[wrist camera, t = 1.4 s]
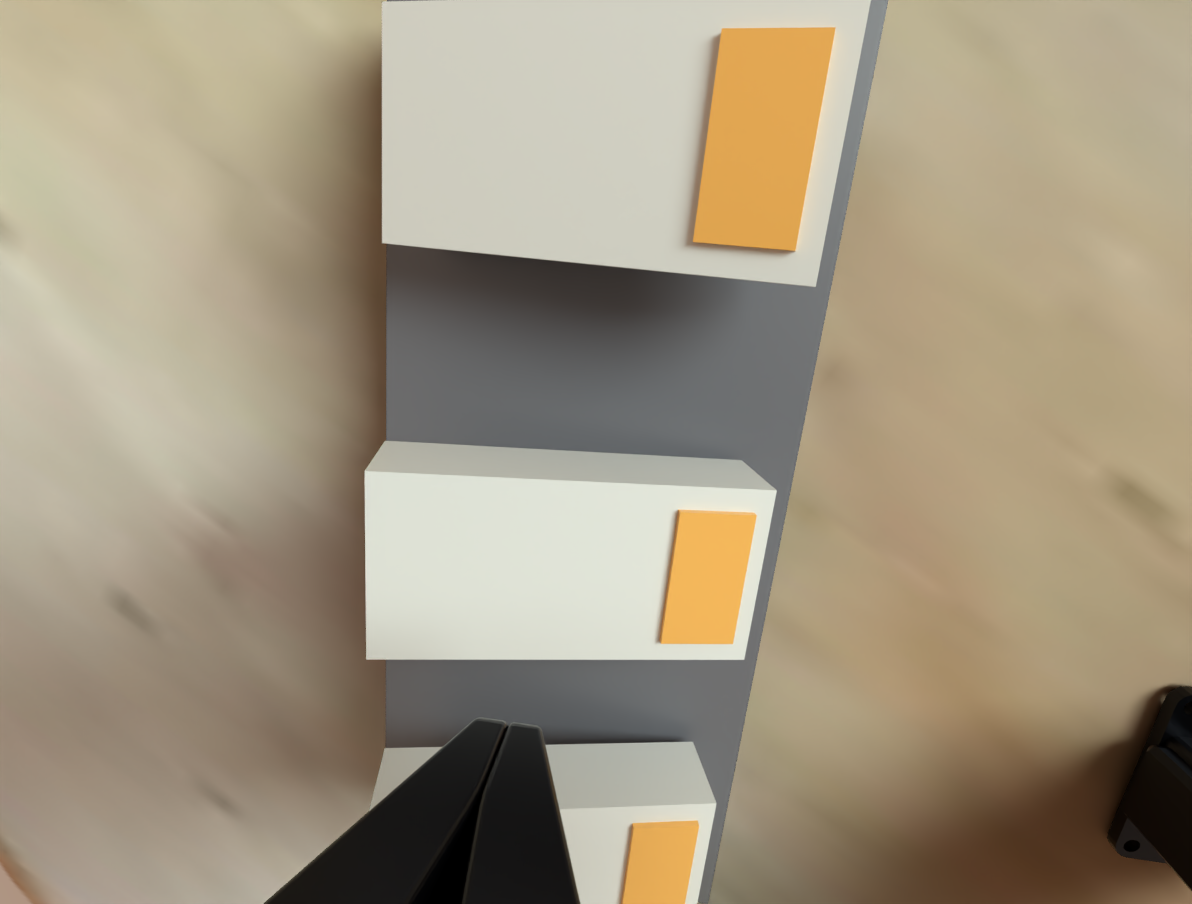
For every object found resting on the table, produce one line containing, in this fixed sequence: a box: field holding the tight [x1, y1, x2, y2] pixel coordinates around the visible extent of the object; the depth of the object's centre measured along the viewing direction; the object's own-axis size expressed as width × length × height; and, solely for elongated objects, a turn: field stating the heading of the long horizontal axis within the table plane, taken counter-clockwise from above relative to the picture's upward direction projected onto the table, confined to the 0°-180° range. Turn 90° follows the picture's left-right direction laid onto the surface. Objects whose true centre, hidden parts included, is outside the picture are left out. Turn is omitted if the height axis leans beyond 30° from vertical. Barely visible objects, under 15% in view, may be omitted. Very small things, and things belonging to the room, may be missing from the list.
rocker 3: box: [369, 742, 717, 904], centre depth 16 cm, size 8×4×2 cm, turn 85°
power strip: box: [386, 0, 888, 904], centre depth 17 cm, size 10×30×4 cm, turn 174°
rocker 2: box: [365, 441, 777, 660], centre depth 13 cm, size 8×4×2 cm, turn 85°
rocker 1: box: [382, 0, 871, 287], centre depth 11 cm, size 8×4×2 cm, turn 84°
